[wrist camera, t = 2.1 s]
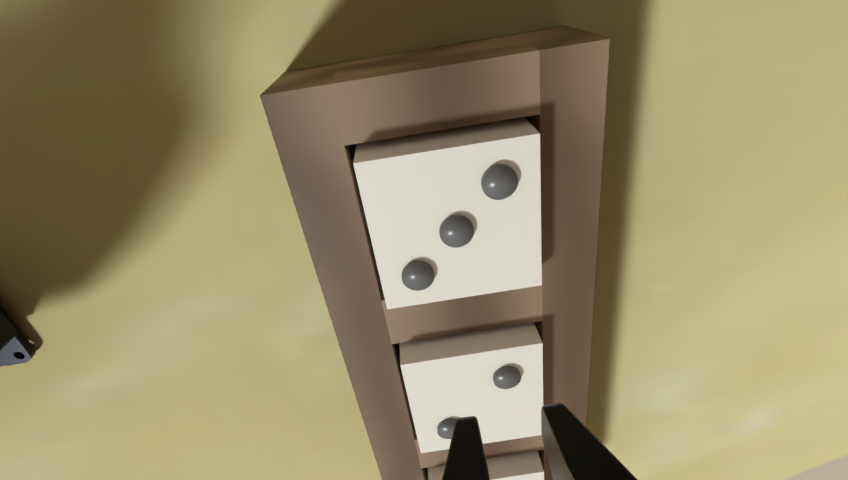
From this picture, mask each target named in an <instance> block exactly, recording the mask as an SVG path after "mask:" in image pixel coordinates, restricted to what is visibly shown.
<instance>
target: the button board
mask: <svg viewBox="0 0 848 480" xmlns="http://www.w3.org/2000/svg"><path fill="white" fill-rule="evenodd" d="M609 46H610V39H609V38H605V37H602V36H598V35H595V34H592V33H588V32H585V31H581V30H578V29H574V28H571V27H567V26H564V27H558V28H552V29H546V30H539V31H533V32H527V33H521V34H515V35H509V36H503V37H496V38H490V39H484V40H478V41H472V42H466V43H460V44H453V45H447V46H441V47H435V48H429V49H423V50H416V51H410V52H404V53H398V54H392V55H386V56H380V57H373V58H367V59H361V60H355V61H349V62H343V63H337V64H330V65H324V66H318V67H312V68H306V69H300V70H294V71H287V72H284V73H283V74H282V75H281V76H280V77H279V78H278V79H277V80H276V81H275V82H274V83H273V84H272V85H271V86H270V87H268V88H267V89H266V90H265V91H264V92H263V93H262V94H261V95H260V97H261V100H262V104H263V107H264V110H265V113H266V116H267V119H268V122H269V126H270V129H271V132H272V135H273V138H274V141H275V144H276V147H277V151H278V154H279V157H280V160H281V163H282V166H283V169H284V173H285V176H286V179H287V182H288V185H289V188H290V191H291V195H292V198H293V201H294V204H295V207H296V210H297V213H298V217H299V220H300V223H301V226H302V229H303V232H304V235H305V239H306V242H307V245H308V248H309V251H310V254H311V257H312V261H313V264H314V267H315V270H316V273H317V276H318V279H319V283H320V286H321V289H322V292H323V295H324V298H325V301H326V305H327V308H328V311H329V314H330V317H331V320H332V323H333V327H334V330H335V333H336V336H337V339H338V342H339V345H340V349H341V352H342V355H343V358H344V361H345V364H346V367H347V371H348V374H349V377H350V380H351V383H352V386H353V389H354V392H355V396H356V399H357V402H358V405H359V408H360V411H361V414H362V418H363V421H364V424H365V427H366V430H367V433H368V436H369V440H370V443H371V446H372V449H373V452H374V455H375V458H376V462H377V465H378V468H379V471H380V474H381V477H382V480H428V468H427V467H434V466H441V465H445V464H446V460H447V455H448V451H449V449H446V450H440V451H433V452H427V453H421V452H420V448H419V443H418V439H417V435H416V430H415V426H414V422H413V418H412V413H411V409H410V405H409V401H408V396H407V392H406V388H405V383H404V379H403V375H402V371H401V366H400V344H399V343H403V342H409V341H415V340H422V339H428V338H435V337H441V336H448V335H454V334H460V333H467V332H473V331H480V330H486V329H493V328H499V327H505V326H512V325H518V324H525V323H531V322H534V324H535V326H536V329H537V331H538V333H539V336H540V338H541V341H542V343H543V406H544V405H548V404H555V403H562V404H564V405H565V406H566V407H567V408H568V409H569V410H570V411H571V412H572V413H573V414H574V415H575V416H576V417H577V418H578V419H579V420H580V421H581V422H582V423H583V424H584V425H585V426H586V421H587V405H588V389H589V372H590V356H591V340H592V324H593V307H594V291H595V275H596V258H597V242H598V226H599V209H600V193H601V177H602V160H603V144H604V128H605V111H606V95H607V79H608V62H609ZM520 117H525V118H526V119H527V120H528V121H529V122H530V124H531V125H532V126H533V127H534V128H535V129H536V130H537V131H538V132H539V133H540V171H541V255H542V285H541V286H534V287H528V288H521V289H515V290H509V291H502V292H496V293H489V294H483V295H477V296H470V297H464V298H457V299H451V300H445V301H438V302H432V303H425V304H419V305H413V306H406V307H400V308H394V309H387V306H386V302H385V298H384V294H383V289H382V285H381V281H380V276H379V272H378V268H377V264H376V259H375V255H374V251H373V246H372V242H371V238H370V234H369V229H368V225H367V221H366V217H365V212H364V208H363V204H362V199H361V195H360V191H359V187H358V182H357V178H356V174H355V169H354V165H353V161H354V156H355V150H356V144H358V143H364V142H370V141H376V140H383V139H389V138H395V137H401V136H408V135H414V134H420V133H426V132H433V131H439V130H445V129H451V128H457V127H464V126H470V125H476V124H482V123H489V122H495V121H501V120H507V119H513V118H520ZM483 447H484V452H485V456H486V459H487V458H493V457H500V456H506V455H513V454H519V453H526V452H532V451H538V454H539V457H540V460H541V463H542V467H543V470H544V480H553V477H552V474H551V470H550V466H549V462H548V459H547V455H546V451H545V447H544V444H543V439H542V435H538V436H532V437H525V438H518V439H512V440H505V441H499V442H492V443H486V444H483Z"/></svg>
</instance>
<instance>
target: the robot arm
mask: <svg viewBox="0 0 848 480" xmlns="http://www.w3.org/2000/svg"><path fill="white" fill-rule="evenodd" d="M35 352H36V351H35V349H34V348H33V346H32V345H31V344H30V343H29V341H28V340H27V339H26V337H25V336H24V335H23V334H22V332H21V331H20V330H19V328H18V327H17V326H16V325H15V323H14V322H13V321H12V320H11V318H10V317H9V316H8V314H7V313H6V312H5V311H4V309H3V308H2V307H1V305H0V367H1V366H7V365H13V364H20V363H25V362H28V361H29V360H30V359H31V358H32V357H33V356H34V355H35ZM541 432H542V439H543V444H544V447H545V451H546V455H547V459H548V462H549V466H550V470H551V474H552V477H553V480H637V479H636V478H635V477H634V476H633V475H632V474H631V472H630V471H629V470H628V469H627V468H626V467H625V466H624V465H623V464H622V463H621V462H620V461H619V460H618V459H617V458H616V457H615V456H614V455H613V454H612V453H611V452H610V451H609V450H608V449H607V448H606V447H605V446H604V445H603V444H602V443H601V442H600V441H599V440H598V439H597V438H596V437H595V436H594V435H593V434H592V433H591V432H590V431H589V430H588V429H587V427H586V426H585V425H584V424H583V423H582V422H581V421H580V420H579V419H578V418H577V417H576V416H575V415H574V414H573V413H572V412H571V411H570V410H569V409H568V408H567V407H566V406H565V405H564V404H562V403H555V404H548V405H544V406H542V409H541ZM442 480H490V477H489V471H488V466H487V461H486V456H485V452H484V447H483V442H482V438H481V433H480V428H479V424H478V420H477V418H476V417H475V416H469V417H462V418H458V419H457V420H456V422H455V426H454V430H453V435H452V439H451V443H450V447H449V451H448V455H447V460H446V464H445V468H444V472H443V476H442Z"/></svg>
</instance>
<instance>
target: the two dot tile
mask: <svg viewBox="0 0 848 480" xmlns="http://www.w3.org/2000/svg"><path fill="white" fill-rule="evenodd" d="M399 344H400V366H401V371H402V375H403V379H404V383H405V388H406V392H407V396H408V401H409V405H410V409H411V413H412V418H413V422H414V426H415V430H416V435H417V439H418V443H419V448H420V452H421V453H427V452H433V451H440V450H446V449H449V447H450V443H451V439H452V435H453V430H454V426H455V422H456V420H457V419H458V418H462V417H469V416H475V417H476V418H477V420H478V424H479V428H480V433H481V438H482V442H483V444H486V443H492V442H499V441H505V440H512V439H518V438H525V437H532V436H538V435H542V432H541V409H542V406H543V343H542V341H541V338H540V336H539V333H538V331H537V329H536V326H535V324H534V322H531V323H525V324H518V325H512V326H505V327H499V328H493V329H486V330H480V331H473V332H467V333H460V334H454V335H448V336H441V337H435V338H428V339H422V340H415V341H409V342H403V343H399Z"/></svg>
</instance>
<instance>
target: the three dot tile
mask: <svg viewBox="0 0 848 480" xmlns="http://www.w3.org/2000/svg"><path fill="white" fill-rule="evenodd" d="M353 165H354V169H355V174H356V178H357V182H358V187H359V191H360V195H361V199H362V204H363V208H364V212H365V217H366V221H367V225H368V229H369V234H370V238H371V242H372V246H373V251H374V255H375V259H376V264H377V268H378V272H379V276H380V281H381V285H382V289H383V294H384V298H385V302H386V306H387V309H394V308H400V307H406V306H413V305H419V304H425V303H432V302H438V301H445V300H451V299H457V298H464V297H470V296H477V295H483V294H489V293H496V292H502V291H509V290H515V289H521V288H528V287H534V286H541V285H542V255H541V171H540V133H539V132H538V131H537V130H536V129H535V128H534V127H533V126H532V125H531V124H530V122H529V121H528V120H527V119H526V118H525V117H520V118H513V119H507V120H501V121H495V122H489V123H482V124H476V125H470V126H464V127H457V128H451V129H445V130H439V131H433V132H426V133H420V134H414V135H408V136H401V137H395V138H389V139H383V140H376V141H370V142H364V143H358V144H356V150H355V156H354V161H353Z"/></svg>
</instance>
